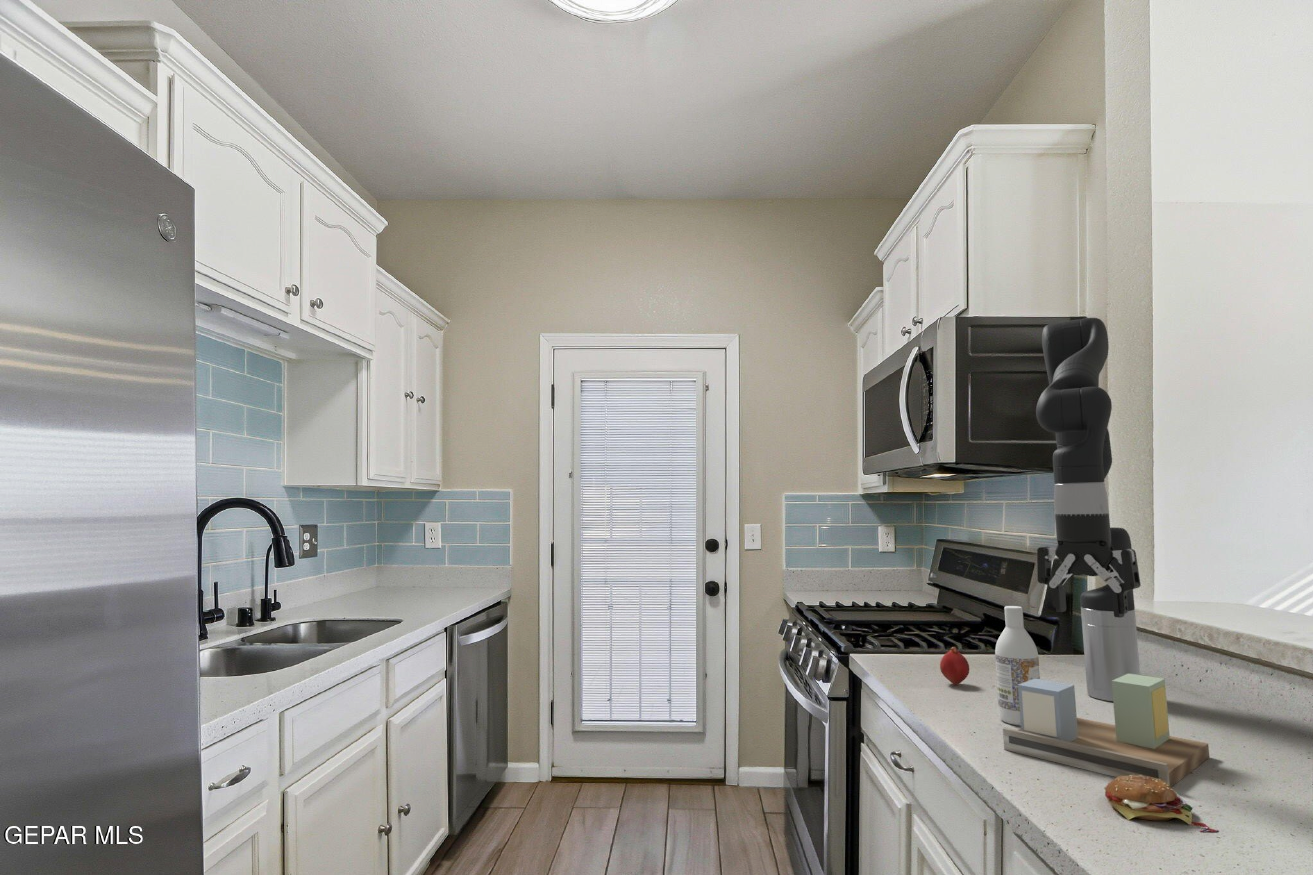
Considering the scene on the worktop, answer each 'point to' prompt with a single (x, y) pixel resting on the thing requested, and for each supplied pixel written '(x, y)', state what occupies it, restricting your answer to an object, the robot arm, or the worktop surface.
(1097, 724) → the wooden slab
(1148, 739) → the tea box
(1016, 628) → the bath foam
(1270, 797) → the worktop surface
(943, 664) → the onion
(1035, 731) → the box
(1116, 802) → the hamburger
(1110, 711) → the worktop surface
